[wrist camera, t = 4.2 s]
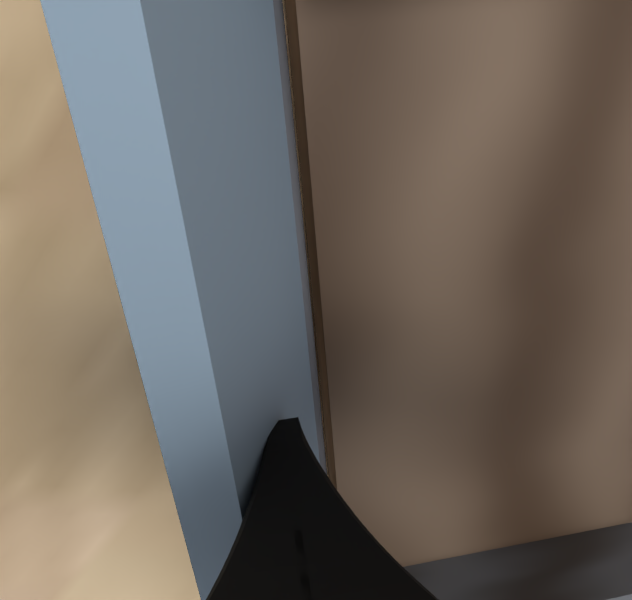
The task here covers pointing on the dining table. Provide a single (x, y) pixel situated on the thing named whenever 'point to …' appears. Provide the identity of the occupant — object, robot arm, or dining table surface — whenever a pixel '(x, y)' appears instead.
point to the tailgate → (199, 234)
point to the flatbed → (474, 283)
